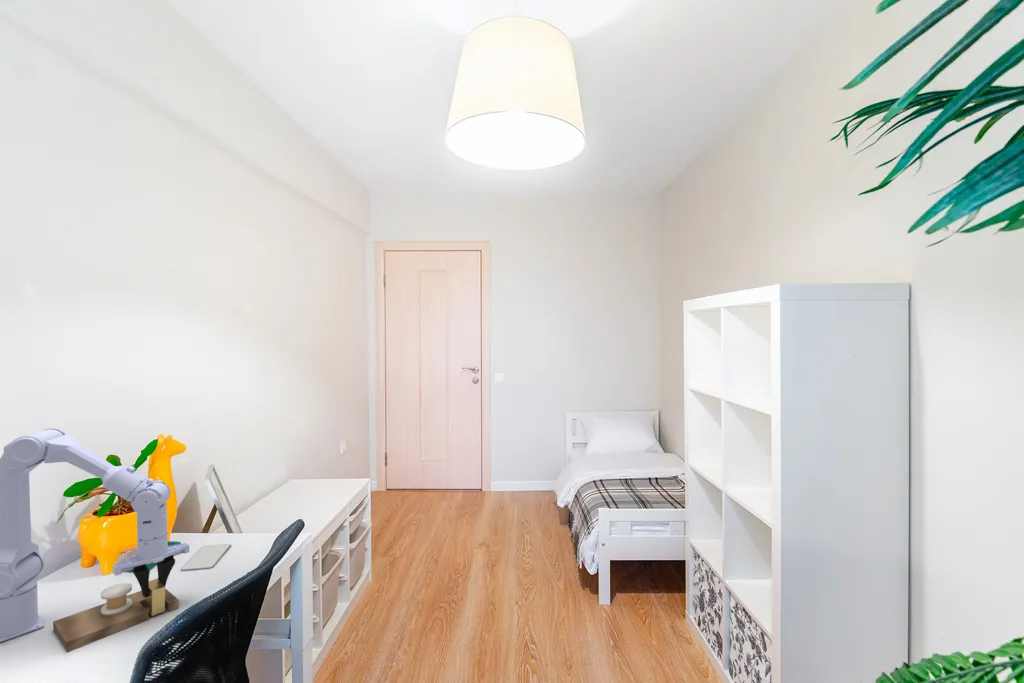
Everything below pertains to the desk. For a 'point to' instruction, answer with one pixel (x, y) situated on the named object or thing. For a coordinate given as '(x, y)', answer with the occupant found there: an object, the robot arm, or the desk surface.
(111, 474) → the robot arm
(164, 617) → the desk surface
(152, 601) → the brass tab
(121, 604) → the bobbin
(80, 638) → the notched board
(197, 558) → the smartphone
